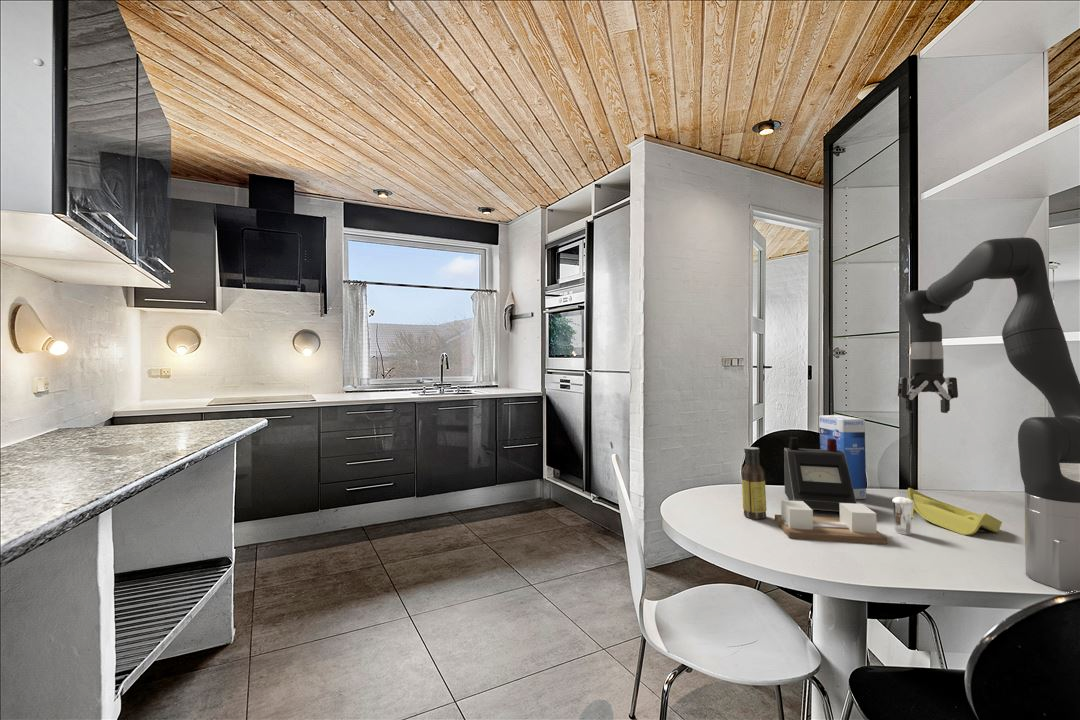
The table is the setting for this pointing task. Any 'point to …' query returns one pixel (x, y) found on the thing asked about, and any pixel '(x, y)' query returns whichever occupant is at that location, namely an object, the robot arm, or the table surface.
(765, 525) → the table surface
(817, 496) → the voltmeter
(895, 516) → the milkshake
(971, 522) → the plastic component
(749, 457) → the sauce bottle
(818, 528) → the rail board
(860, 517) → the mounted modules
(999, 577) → the table surface
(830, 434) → the string lights box
